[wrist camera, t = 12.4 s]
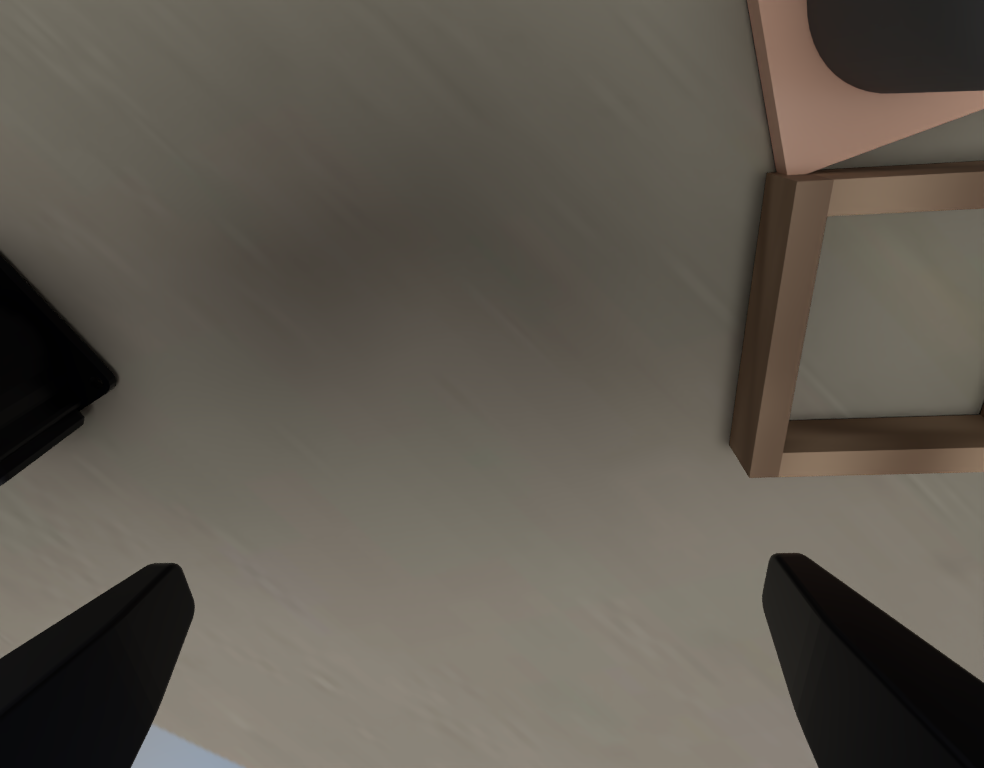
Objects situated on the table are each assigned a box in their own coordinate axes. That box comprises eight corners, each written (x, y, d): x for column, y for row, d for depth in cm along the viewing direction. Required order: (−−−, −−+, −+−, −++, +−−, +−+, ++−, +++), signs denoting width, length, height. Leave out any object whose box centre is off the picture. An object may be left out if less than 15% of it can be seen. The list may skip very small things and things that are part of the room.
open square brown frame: (729, 444, 23) (749, 478, 21) (766, 172, 18) (797, 181, 16) (999, 437, 22) (1046, 470, 20) (1105, 153, 18) (1178, 160, 16)
